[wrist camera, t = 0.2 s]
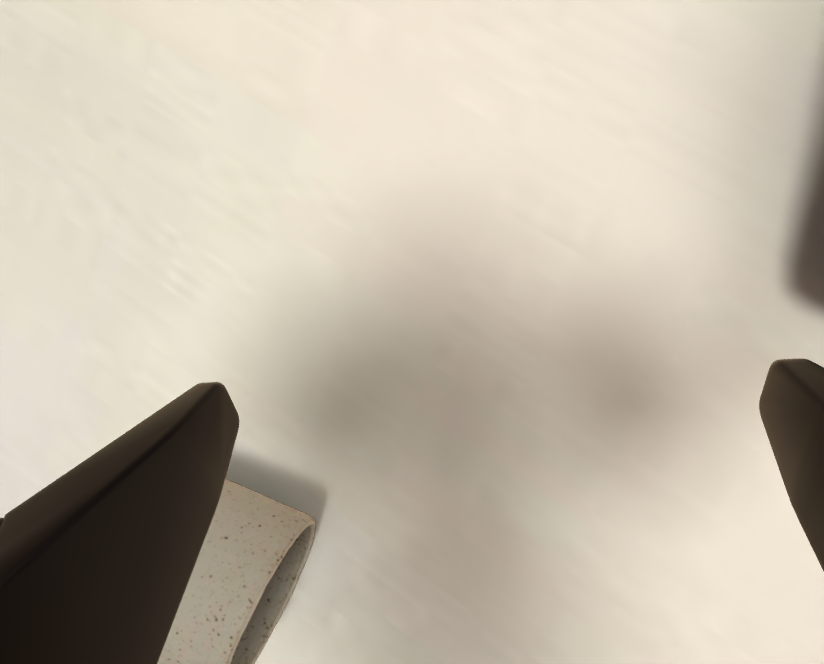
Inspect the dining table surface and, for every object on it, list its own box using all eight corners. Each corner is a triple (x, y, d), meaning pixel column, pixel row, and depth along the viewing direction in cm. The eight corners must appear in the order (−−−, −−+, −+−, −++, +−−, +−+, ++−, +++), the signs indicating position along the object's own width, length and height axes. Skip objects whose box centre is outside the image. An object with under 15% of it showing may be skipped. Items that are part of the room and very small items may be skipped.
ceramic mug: (181, 426, 26) (53, 498, 18) (332, 489, 25) (262, 591, 18) (134, 600, 28) (1, 729, 20) (271, 663, 27) (186, 821, 20)
